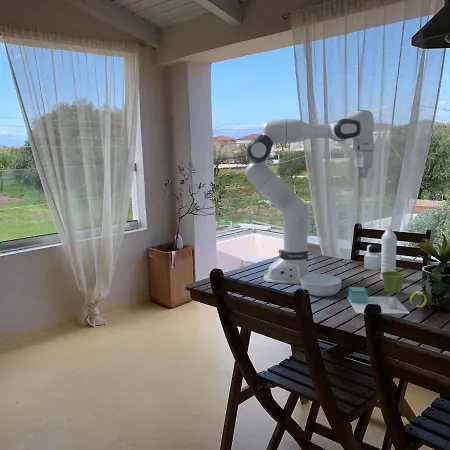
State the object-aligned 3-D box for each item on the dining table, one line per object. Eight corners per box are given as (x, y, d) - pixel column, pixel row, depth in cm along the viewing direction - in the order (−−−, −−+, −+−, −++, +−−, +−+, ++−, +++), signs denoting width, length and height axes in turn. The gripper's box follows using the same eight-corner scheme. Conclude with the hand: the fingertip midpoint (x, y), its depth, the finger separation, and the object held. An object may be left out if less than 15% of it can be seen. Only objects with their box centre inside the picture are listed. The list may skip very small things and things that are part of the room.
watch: (423, 306, 169) (425, 291, 168) (426, 308, 166) (428, 293, 165) (408, 305, 169) (409, 290, 168) (410, 307, 166) (412, 292, 165)
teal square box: (351, 302, 169) (351, 291, 169) (348, 297, 175) (348, 286, 175) (367, 302, 169) (367, 291, 168) (363, 297, 175) (364, 286, 174)
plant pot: (377, 290, 188) (378, 271, 187) (399, 290, 188) (400, 270, 187) (384, 297, 179) (385, 277, 178) (408, 297, 179) (408, 276, 177)
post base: (356, 316, 158) (356, 303, 158) (346, 300, 177) (346, 288, 176) (410, 317, 157) (410, 303, 156) (394, 300, 175) (395, 288, 174)
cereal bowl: (315, 304, 174) (315, 287, 172) (293, 292, 189) (293, 277, 188) (349, 297, 180) (350, 281, 179) (325, 287, 195) (325, 272, 194)
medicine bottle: (381, 267, 227) (382, 244, 225) (378, 270, 221) (378, 247, 219) (367, 265, 230) (368, 243, 229) (363, 268, 225) (364, 246, 223)
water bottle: (397, 281, 201) (398, 227, 197) (382, 281, 202) (384, 228, 198) (391, 276, 210) (393, 224, 206) (378, 276, 210) (379, 225, 207)
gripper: (351, 147, 208) (351, 176, 210) (360, 146, 188) (360, 178, 190) (365, 147, 207) (364, 176, 209) (375, 146, 187) (375, 178, 189)
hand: (362, 177), depth 200 cm, fingers open, 8 cm apart
